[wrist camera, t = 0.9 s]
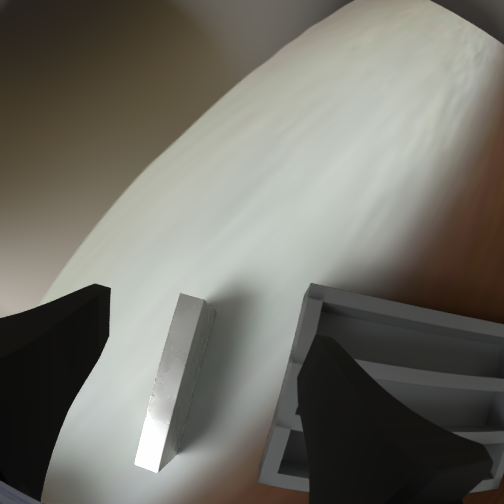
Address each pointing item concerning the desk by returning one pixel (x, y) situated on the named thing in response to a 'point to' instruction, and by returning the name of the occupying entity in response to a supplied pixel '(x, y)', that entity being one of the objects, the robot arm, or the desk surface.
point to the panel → (175, 382)
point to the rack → (397, 374)
